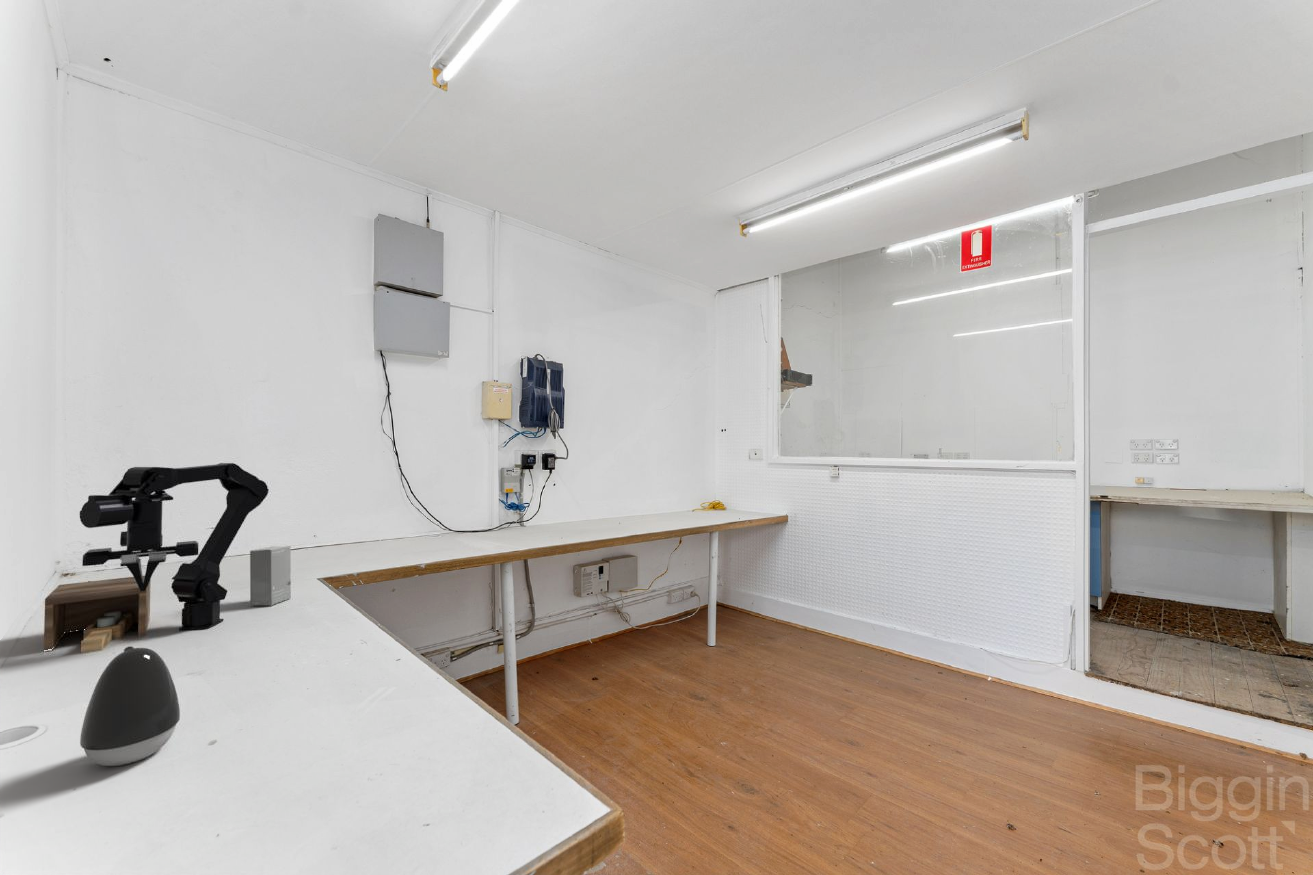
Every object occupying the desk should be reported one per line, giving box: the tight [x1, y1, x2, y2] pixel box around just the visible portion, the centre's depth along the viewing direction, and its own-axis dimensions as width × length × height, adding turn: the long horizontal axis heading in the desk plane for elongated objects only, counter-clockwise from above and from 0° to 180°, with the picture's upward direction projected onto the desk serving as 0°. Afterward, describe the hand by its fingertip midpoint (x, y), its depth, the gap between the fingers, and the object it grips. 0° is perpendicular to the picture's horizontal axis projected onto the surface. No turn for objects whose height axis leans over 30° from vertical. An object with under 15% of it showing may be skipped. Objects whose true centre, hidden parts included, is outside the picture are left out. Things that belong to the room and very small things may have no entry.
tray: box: [80, 610, 134, 654], centre depth 125 cm, size 20×6×4 cm, turn 35°
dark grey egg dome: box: [79, 645, 181, 767], centre depth 77 cm, size 10×10×15 cm
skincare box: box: [249, 545, 292, 607], centre depth 154 cm, size 8×7×16 cm
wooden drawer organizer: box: [43, 574, 152, 651], centre depth 127 cm, size 16×16×12 cm
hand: (143, 590), depth 121 cm, fingers closed
